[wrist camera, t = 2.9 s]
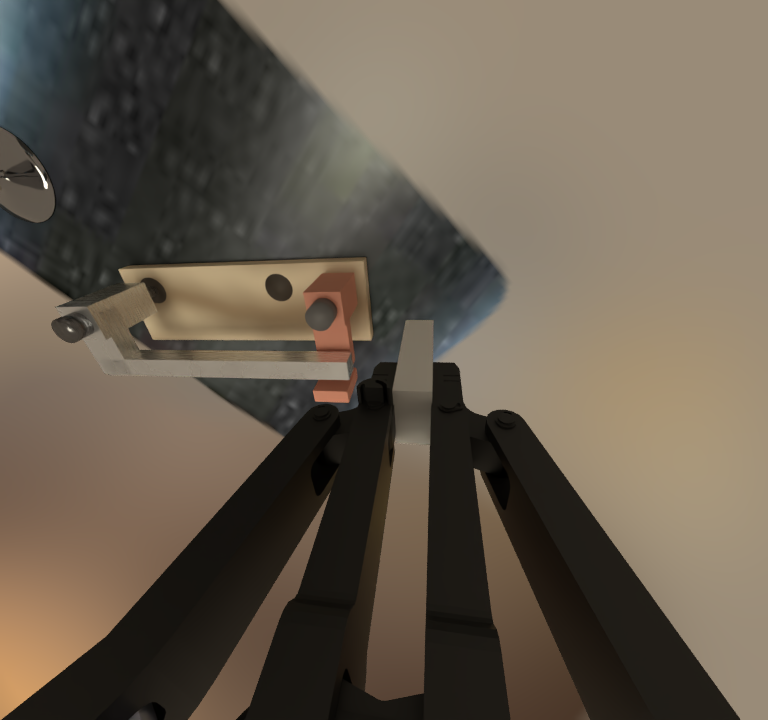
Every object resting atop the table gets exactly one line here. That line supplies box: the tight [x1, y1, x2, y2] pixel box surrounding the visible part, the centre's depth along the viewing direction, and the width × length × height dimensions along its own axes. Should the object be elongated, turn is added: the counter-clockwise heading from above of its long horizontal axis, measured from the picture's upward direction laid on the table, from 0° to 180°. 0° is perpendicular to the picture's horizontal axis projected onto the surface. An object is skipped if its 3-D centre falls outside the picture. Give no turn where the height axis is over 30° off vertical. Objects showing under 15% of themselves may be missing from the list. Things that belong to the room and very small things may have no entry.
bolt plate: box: [118, 257, 373, 340], centre depth 29 cm, size 7×22×1 cm, turn 94°
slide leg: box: [303, 272, 358, 403], centre depth 25 cm, size 8×3×6 cm, turn 4°
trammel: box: [51, 283, 354, 380], centre depth 25 cm, size 6×20×8 cm, turn 94°
